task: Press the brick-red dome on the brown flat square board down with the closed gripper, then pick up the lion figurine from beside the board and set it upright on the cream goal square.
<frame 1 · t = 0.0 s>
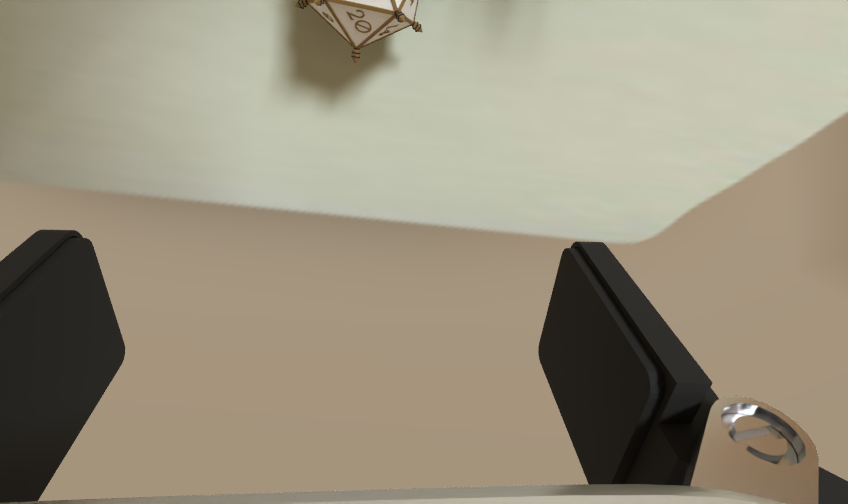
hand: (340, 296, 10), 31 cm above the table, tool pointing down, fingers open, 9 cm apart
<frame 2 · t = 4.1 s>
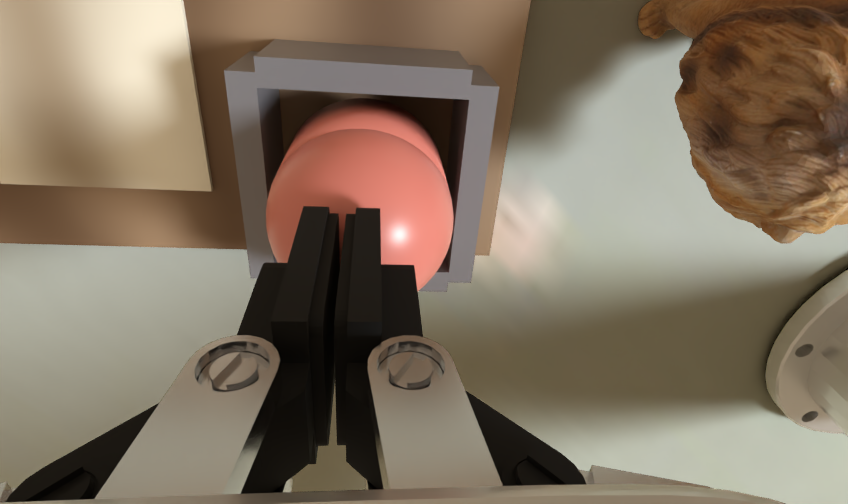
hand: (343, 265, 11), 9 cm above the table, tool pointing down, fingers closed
dome housing: (366, 156, 18), resting on brown flat square board
pop dome: (362, 214, 14), point 6 cm above the table, slide at 0.2 cm, touching gripper
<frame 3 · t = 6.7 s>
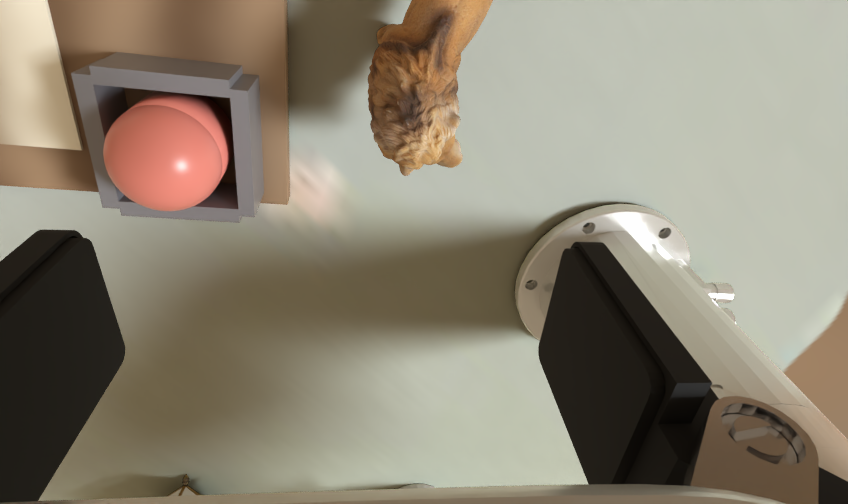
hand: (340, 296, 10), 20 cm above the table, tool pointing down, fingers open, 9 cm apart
dome housing: (189, 131, 26), resting on brown flat square board
game die: (193, 491, 45), on the table
lion figurine: (447, 0, 26), on the table
pop dome: (168, 155, 23), point 5 cm above the table, slide at 1.2 cm
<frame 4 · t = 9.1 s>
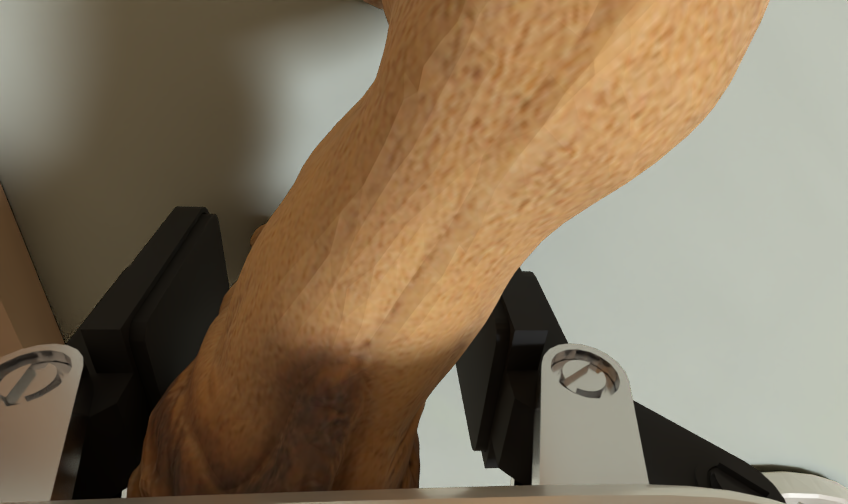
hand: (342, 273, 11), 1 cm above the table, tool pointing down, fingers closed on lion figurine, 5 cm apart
lion figurine: (407, 155, 11), on the table, touching gripper
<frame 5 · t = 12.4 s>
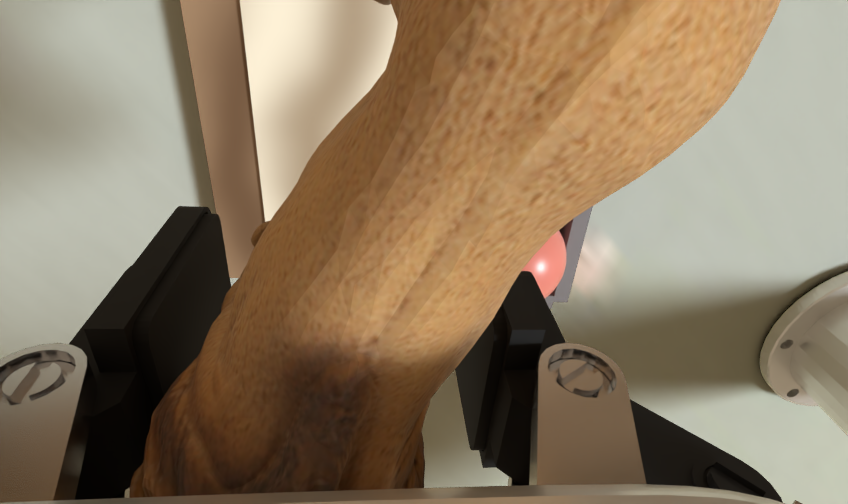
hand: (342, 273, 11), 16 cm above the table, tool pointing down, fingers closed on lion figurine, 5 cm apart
dome housing: (497, 220, 27), resting on brown flat square board
lion figurine: (409, 153, 11), point 15 cm above the table, touching gripper
pop dome: (512, 253, 24), point 5 cm above the table, slide at 1.2 cm
brown flat square board: (411, 101, 25), on the table
when the fingers open (4 cm above the table, at t = 15.2 s): lion figurine drops 1 cm, resting on brown flat square board.
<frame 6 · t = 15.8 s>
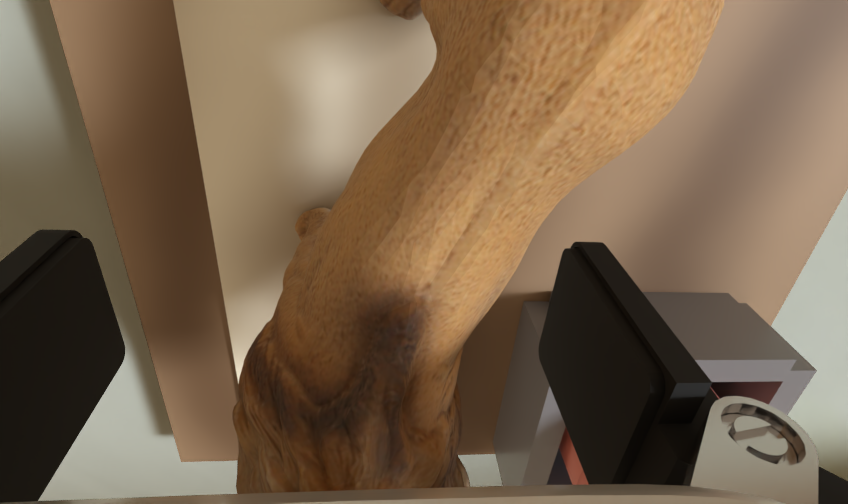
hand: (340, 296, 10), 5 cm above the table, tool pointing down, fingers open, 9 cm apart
dome housing: (609, 377, 17), resting on brown flat square board
lion figurine: (430, 145, 12), point 1 cm above the table, touching brown flat square board
pop dome: (658, 467, 14), point 5 cm above the table, slide at 1.2 cm
brown flat square board: (486, 203, 15), on the table
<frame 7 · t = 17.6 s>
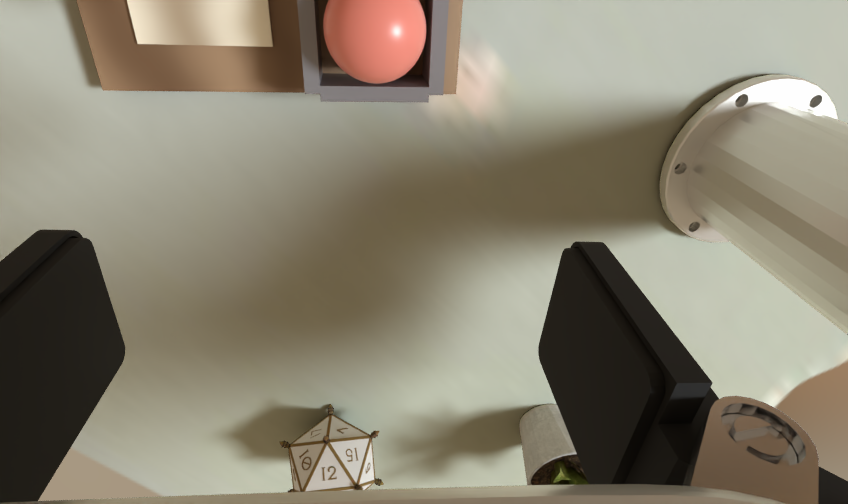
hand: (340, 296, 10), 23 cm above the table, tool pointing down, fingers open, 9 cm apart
dome housing: (372, 19, 27), resting on brown flat square board
game die: (334, 424, 46), on the table
pop dome: (375, 28, 24), point 5 cm above the table, slide at 1.2 cm
house plant: (543, 428, 51), on the table
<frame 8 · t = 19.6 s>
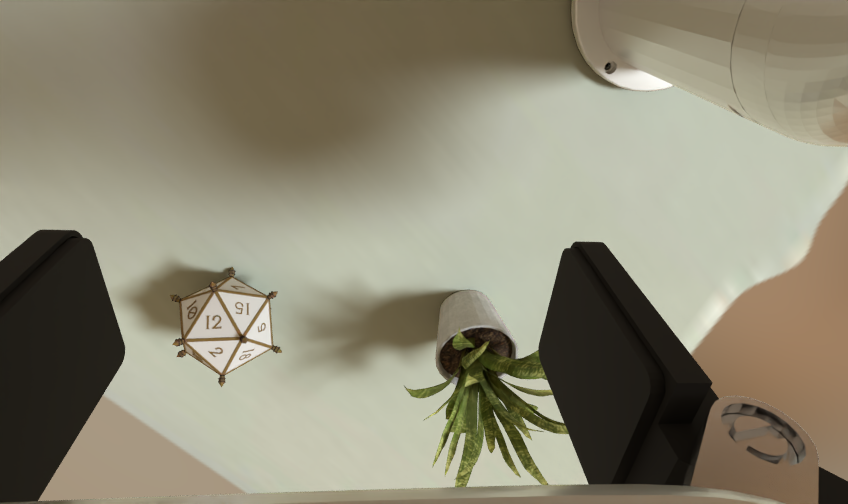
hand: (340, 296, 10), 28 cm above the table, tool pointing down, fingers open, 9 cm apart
game die: (239, 294, 44), on the table
house plant: (466, 321, 48), on the table
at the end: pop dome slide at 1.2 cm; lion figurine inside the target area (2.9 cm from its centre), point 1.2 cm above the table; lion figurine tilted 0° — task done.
